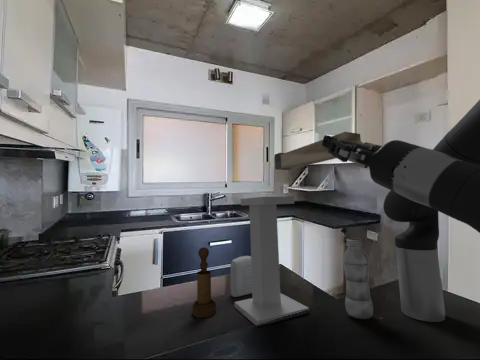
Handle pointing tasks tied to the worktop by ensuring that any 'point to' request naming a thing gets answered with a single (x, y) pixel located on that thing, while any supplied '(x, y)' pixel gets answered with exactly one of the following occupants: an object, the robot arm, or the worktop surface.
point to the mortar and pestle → (204, 289)
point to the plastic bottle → (357, 280)
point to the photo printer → (241, 276)
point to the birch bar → (310, 153)
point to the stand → (266, 264)
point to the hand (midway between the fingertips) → (332, 141)
